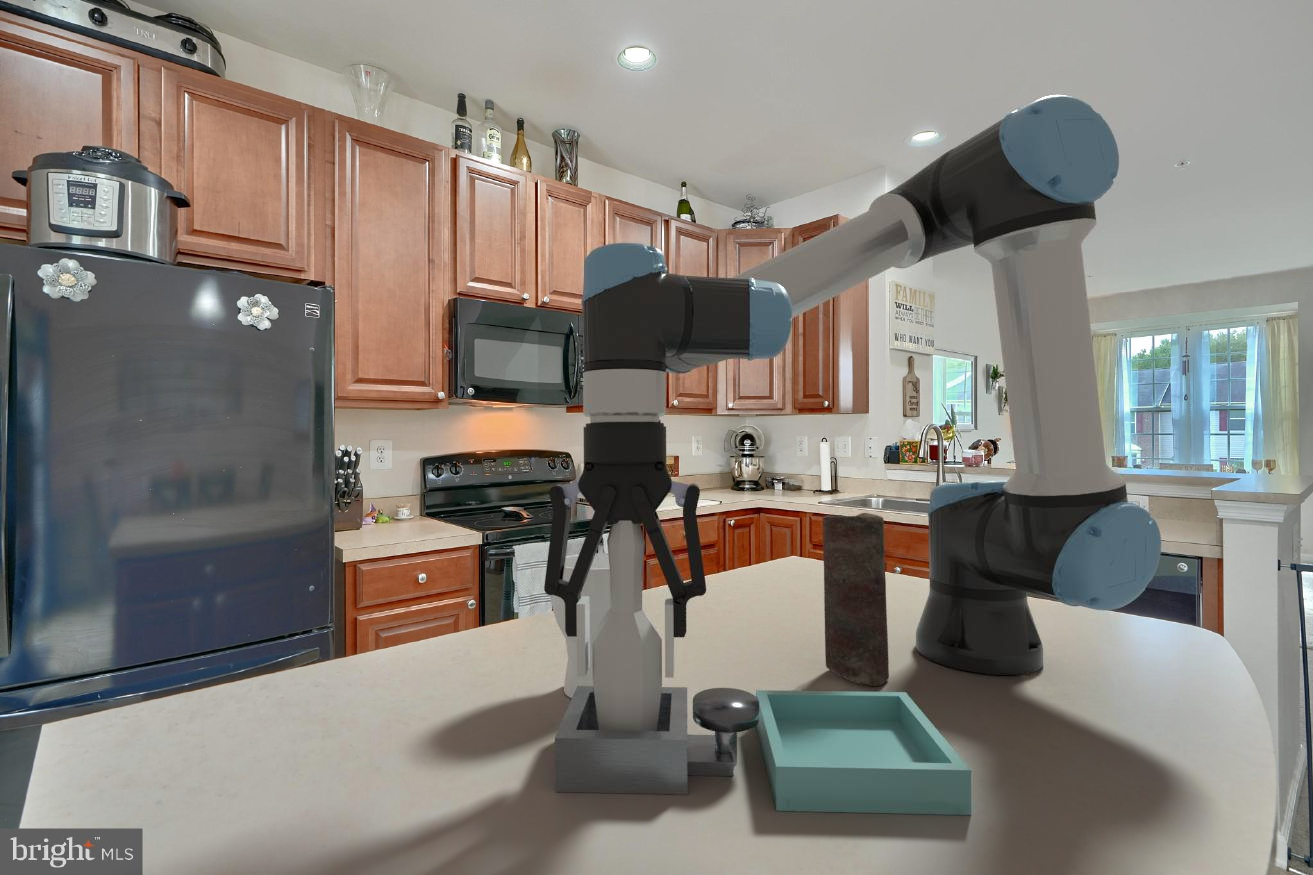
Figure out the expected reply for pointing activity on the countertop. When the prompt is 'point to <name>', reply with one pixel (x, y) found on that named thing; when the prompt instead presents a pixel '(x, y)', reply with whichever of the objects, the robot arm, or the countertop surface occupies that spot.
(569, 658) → the cup
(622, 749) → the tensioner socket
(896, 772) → the tray
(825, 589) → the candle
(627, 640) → the grey faceted bottle
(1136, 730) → the countertop surface
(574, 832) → the countertop surface
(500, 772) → the countertop surface
